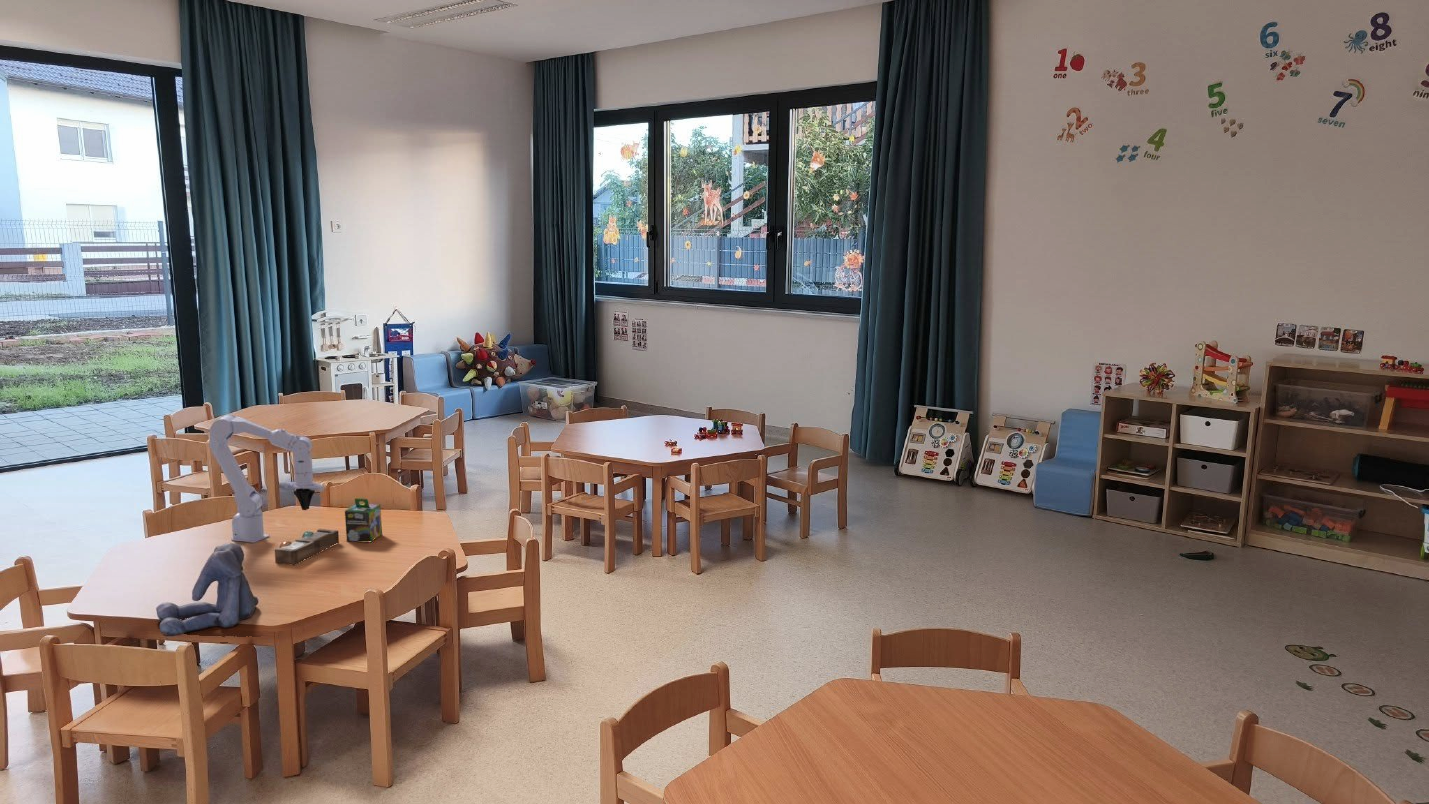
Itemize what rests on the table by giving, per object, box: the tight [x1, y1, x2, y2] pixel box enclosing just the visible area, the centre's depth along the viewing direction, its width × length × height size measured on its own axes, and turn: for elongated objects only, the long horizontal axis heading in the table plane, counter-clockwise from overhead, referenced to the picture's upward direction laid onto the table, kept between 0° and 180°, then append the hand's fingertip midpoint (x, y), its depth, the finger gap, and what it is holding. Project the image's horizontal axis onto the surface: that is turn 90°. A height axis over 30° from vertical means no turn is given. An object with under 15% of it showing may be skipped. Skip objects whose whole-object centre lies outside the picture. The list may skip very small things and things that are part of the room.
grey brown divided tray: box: [274, 528, 340, 566], centre depth 308 cm, size 7×23×5 cm, turn 166°
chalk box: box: [344, 497, 383, 542], centre depth 323 cm, size 9×9×15 cm
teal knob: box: [301, 530, 329, 539], centre depth 314 cm, size 7×7×5 cm
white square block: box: [278, 540, 307, 549], centre depth 303 cm, size 7×7×5 cm
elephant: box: [155, 542, 259, 637], centre depth 252 cm, size 21×25×21 cm
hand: (305, 509), depth 323 cm, fingers closed
